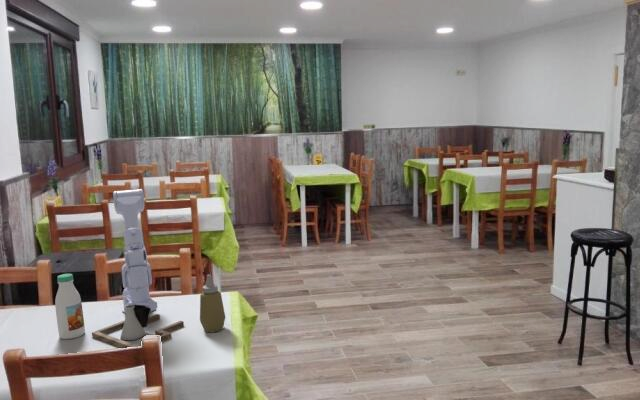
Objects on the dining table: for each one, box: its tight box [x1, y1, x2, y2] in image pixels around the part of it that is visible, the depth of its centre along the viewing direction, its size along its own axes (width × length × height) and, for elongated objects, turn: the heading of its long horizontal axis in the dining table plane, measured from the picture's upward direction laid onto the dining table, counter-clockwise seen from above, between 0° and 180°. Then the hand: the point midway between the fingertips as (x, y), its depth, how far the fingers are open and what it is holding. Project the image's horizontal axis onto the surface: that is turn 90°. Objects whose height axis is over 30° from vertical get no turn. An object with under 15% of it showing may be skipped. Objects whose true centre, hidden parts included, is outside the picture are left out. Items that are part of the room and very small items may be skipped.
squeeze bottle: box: [199, 274, 226, 333], centre depth 177 cm, size 8×8×18 cm
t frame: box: [91, 313, 185, 349], centre depth 178 cm, size 23×22×2 cm
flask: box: [120, 305, 146, 341], centre depth 174 cm, size 7×7×10 cm
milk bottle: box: [54, 273, 86, 340], centre depth 178 cm, size 8×8×20 cm
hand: (143, 326), depth 178 cm, fingers closed, pressing on flask
